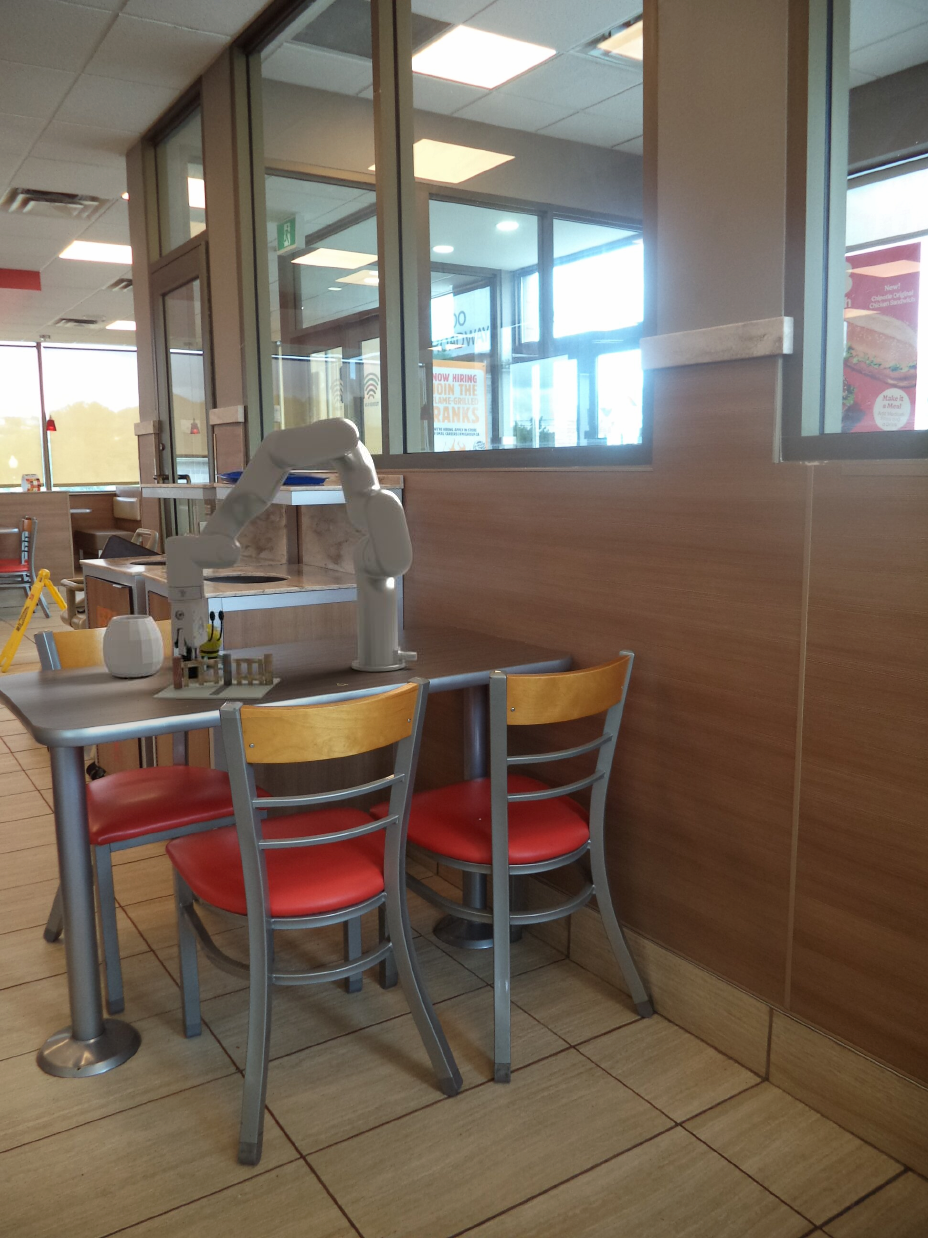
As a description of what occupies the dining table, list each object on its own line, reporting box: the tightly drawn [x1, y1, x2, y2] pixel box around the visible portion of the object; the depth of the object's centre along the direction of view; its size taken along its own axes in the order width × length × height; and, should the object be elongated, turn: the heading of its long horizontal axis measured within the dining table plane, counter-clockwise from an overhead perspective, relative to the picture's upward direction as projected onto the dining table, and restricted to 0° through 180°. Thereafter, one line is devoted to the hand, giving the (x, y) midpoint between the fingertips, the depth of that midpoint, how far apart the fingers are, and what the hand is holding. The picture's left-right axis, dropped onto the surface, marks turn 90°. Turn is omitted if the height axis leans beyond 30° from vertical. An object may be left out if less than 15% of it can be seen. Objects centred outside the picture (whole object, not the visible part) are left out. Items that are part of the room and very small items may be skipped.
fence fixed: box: [221, 653, 274, 685], centre depth 208 cm, size 11×2×7 cm, turn 88°
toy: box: [199, 610, 225, 672], centre depth 230 cm, size 6×14×15 cm
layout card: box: [152, 677, 281, 700], centre depth 206 cm, size 22×19×1 cm
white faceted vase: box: [102, 614, 165, 678], centre depth 221 cm, size 13×13×14 cm
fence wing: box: [171, 657, 223, 689], centre depth 206 cm, size 10×2×6 cm, turn 119°
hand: (191, 678), depth 208 cm, fingers closed
